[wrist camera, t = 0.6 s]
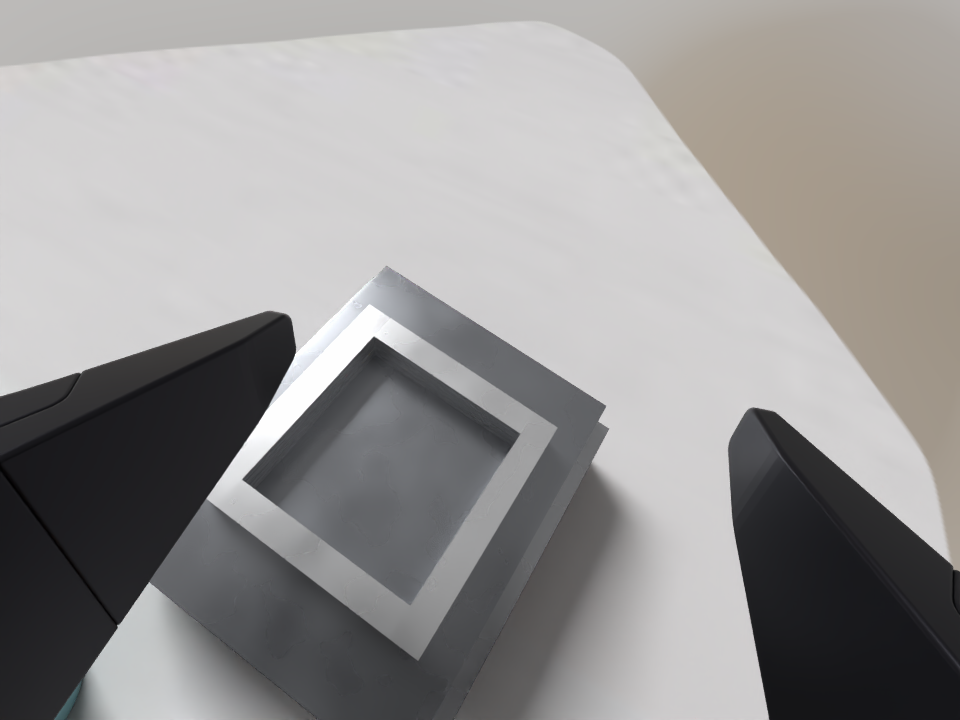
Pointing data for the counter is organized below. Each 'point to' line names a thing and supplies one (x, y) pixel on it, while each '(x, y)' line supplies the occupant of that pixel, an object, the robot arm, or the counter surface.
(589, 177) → the counter surface
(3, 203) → the counter surface
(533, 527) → the square aluminium tube flange
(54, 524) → the robot arm
